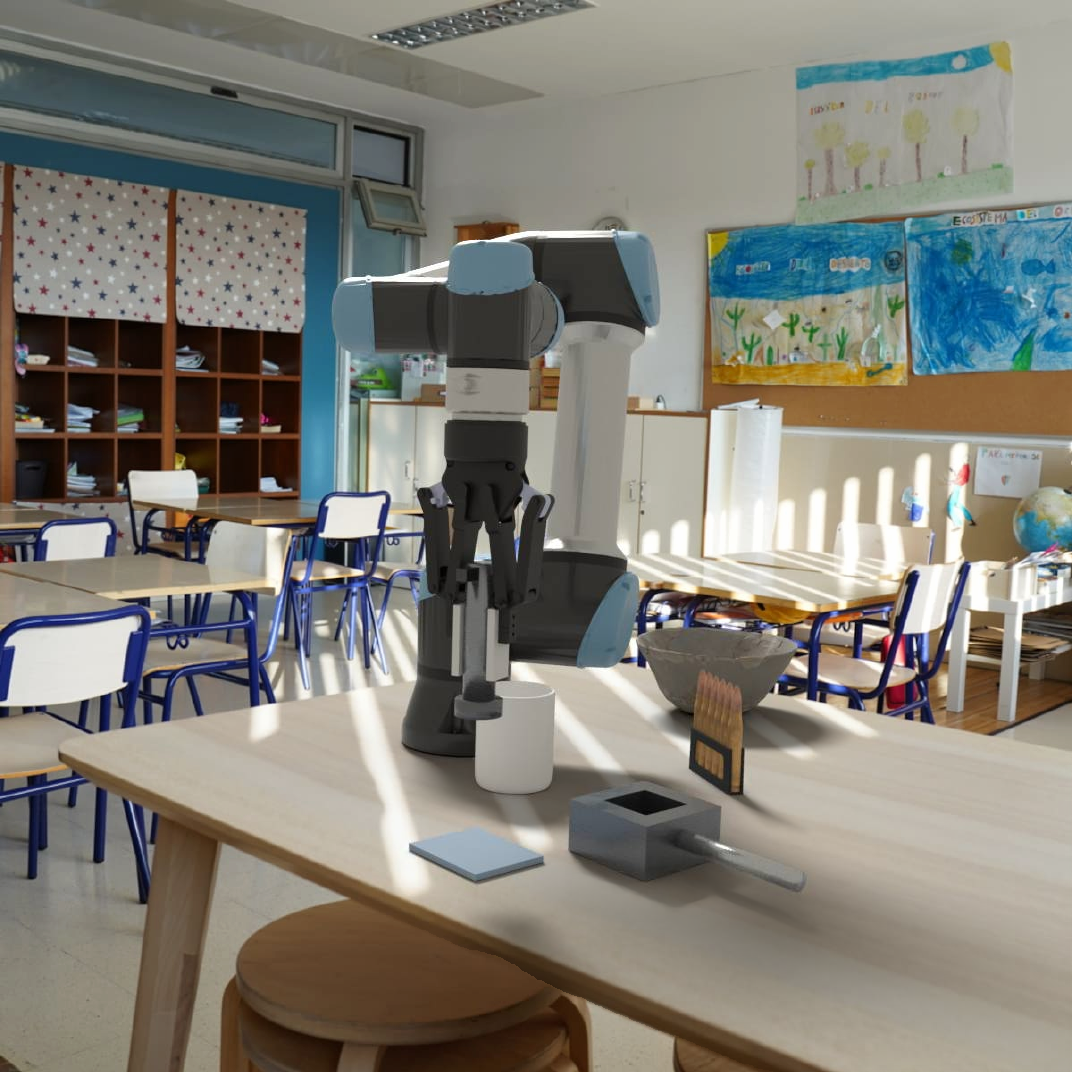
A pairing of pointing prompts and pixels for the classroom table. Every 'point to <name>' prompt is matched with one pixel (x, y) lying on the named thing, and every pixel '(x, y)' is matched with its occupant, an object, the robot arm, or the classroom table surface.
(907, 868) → the classroom table surface
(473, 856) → the mat
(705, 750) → the ammunition clip
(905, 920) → the classroom table surface
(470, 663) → the key
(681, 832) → the block
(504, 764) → the mug
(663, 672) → the ceramic bowl
